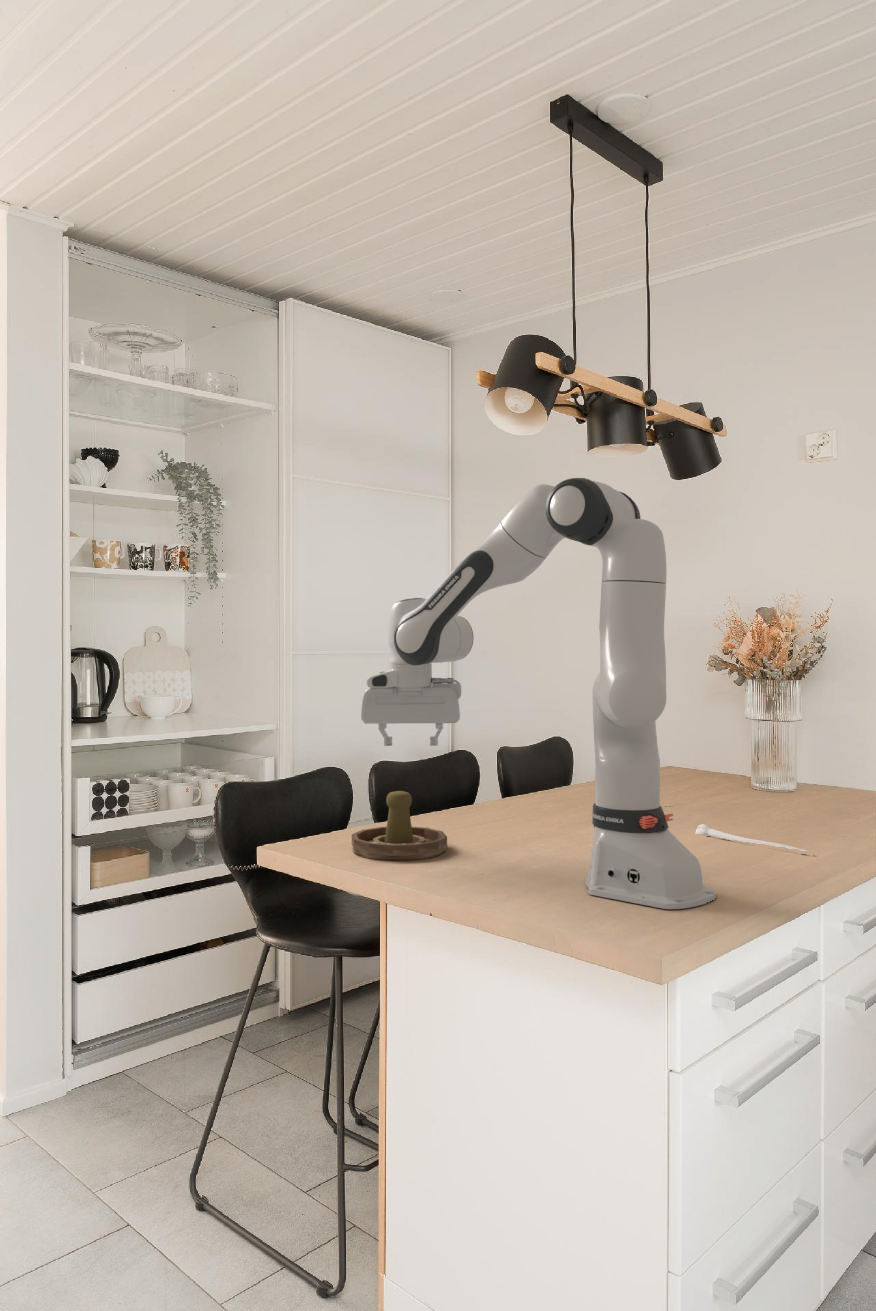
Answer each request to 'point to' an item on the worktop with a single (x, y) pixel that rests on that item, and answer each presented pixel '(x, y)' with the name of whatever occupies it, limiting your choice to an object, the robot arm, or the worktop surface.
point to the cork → (399, 818)
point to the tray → (399, 845)
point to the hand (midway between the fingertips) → (411, 745)
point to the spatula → (735, 837)
